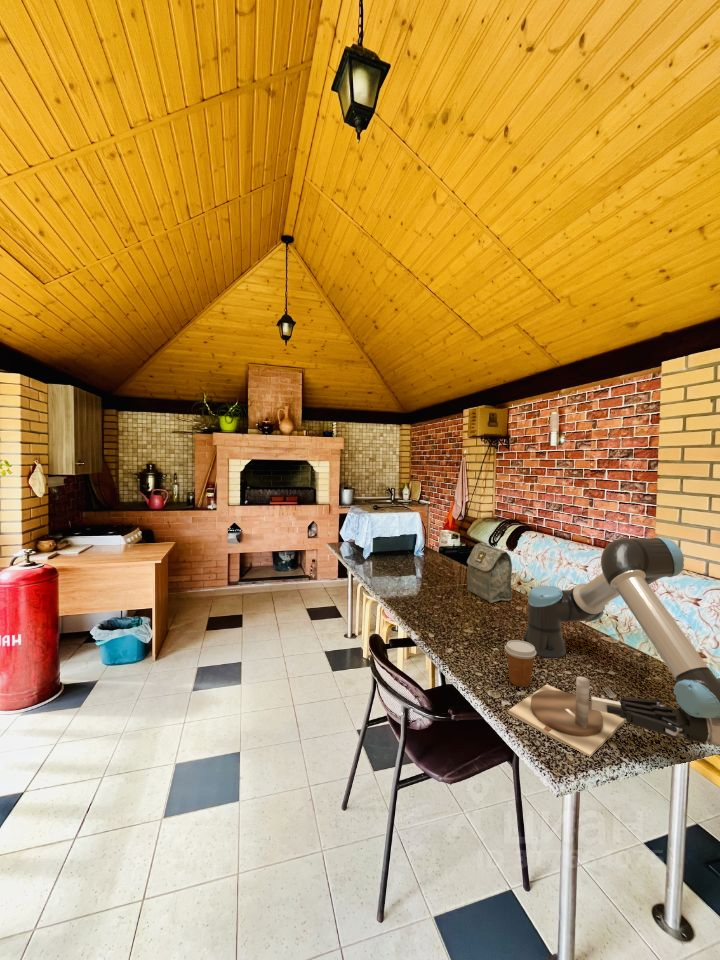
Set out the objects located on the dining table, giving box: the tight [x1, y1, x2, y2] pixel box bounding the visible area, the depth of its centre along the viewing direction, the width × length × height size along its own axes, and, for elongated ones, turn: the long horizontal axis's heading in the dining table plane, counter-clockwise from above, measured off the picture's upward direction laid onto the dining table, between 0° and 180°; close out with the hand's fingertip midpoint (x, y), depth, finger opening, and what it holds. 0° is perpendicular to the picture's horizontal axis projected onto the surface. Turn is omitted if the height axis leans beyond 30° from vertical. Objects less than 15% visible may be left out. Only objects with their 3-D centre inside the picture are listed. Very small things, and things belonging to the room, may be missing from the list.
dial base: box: [507, 683, 626, 758], centre depth 113 cm, size 22×22×1 cm
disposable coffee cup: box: [504, 639, 537, 688], centre depth 131 cm, size 10×10×12 cm
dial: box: [531, 676, 603, 736], centre depth 113 cm, size 18×18×14 cm
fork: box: [602, 687, 621, 702], centre depth 118 cm, size 3×16×2 cm, turn 16°
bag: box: [466, 541, 513, 604], centre depth 214 cm, size 22×16×27 cm
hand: (591, 702), depth 105 cm, fingers closed
